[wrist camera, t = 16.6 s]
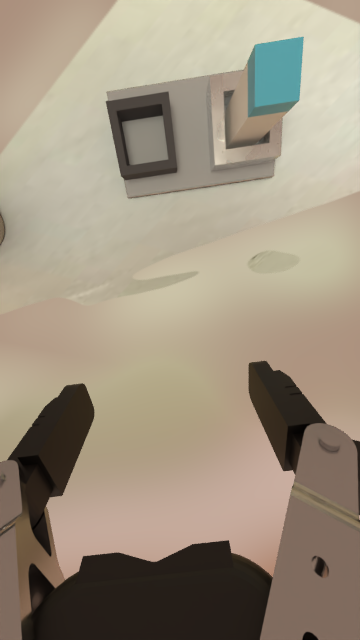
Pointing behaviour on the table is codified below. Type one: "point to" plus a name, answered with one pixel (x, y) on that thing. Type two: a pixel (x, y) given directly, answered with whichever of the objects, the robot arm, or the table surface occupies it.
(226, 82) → the port
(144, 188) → the panel
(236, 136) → the plug
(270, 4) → the table surface
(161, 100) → the dark grey square socket
